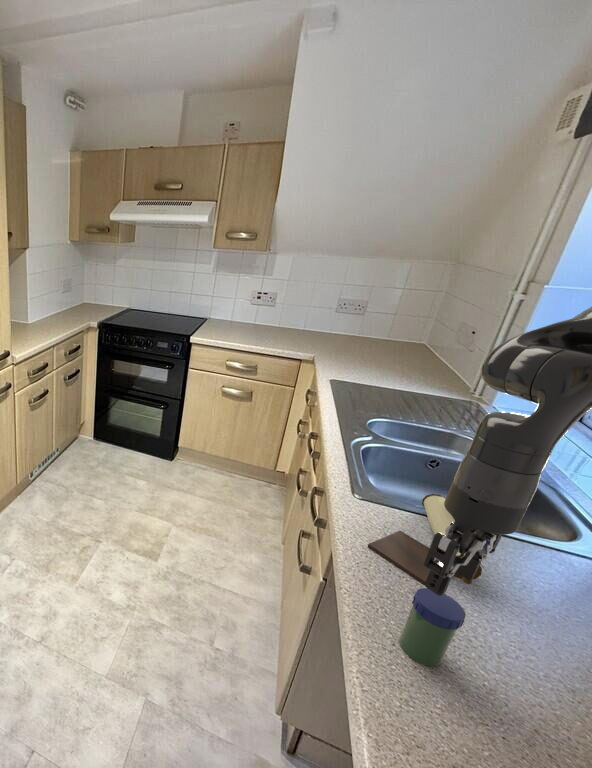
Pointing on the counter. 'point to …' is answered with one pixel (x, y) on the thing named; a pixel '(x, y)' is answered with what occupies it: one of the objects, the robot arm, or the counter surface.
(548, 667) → the counter surface
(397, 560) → the coaster
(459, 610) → the lid
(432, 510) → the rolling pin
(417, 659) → the jar
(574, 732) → the counter surface
